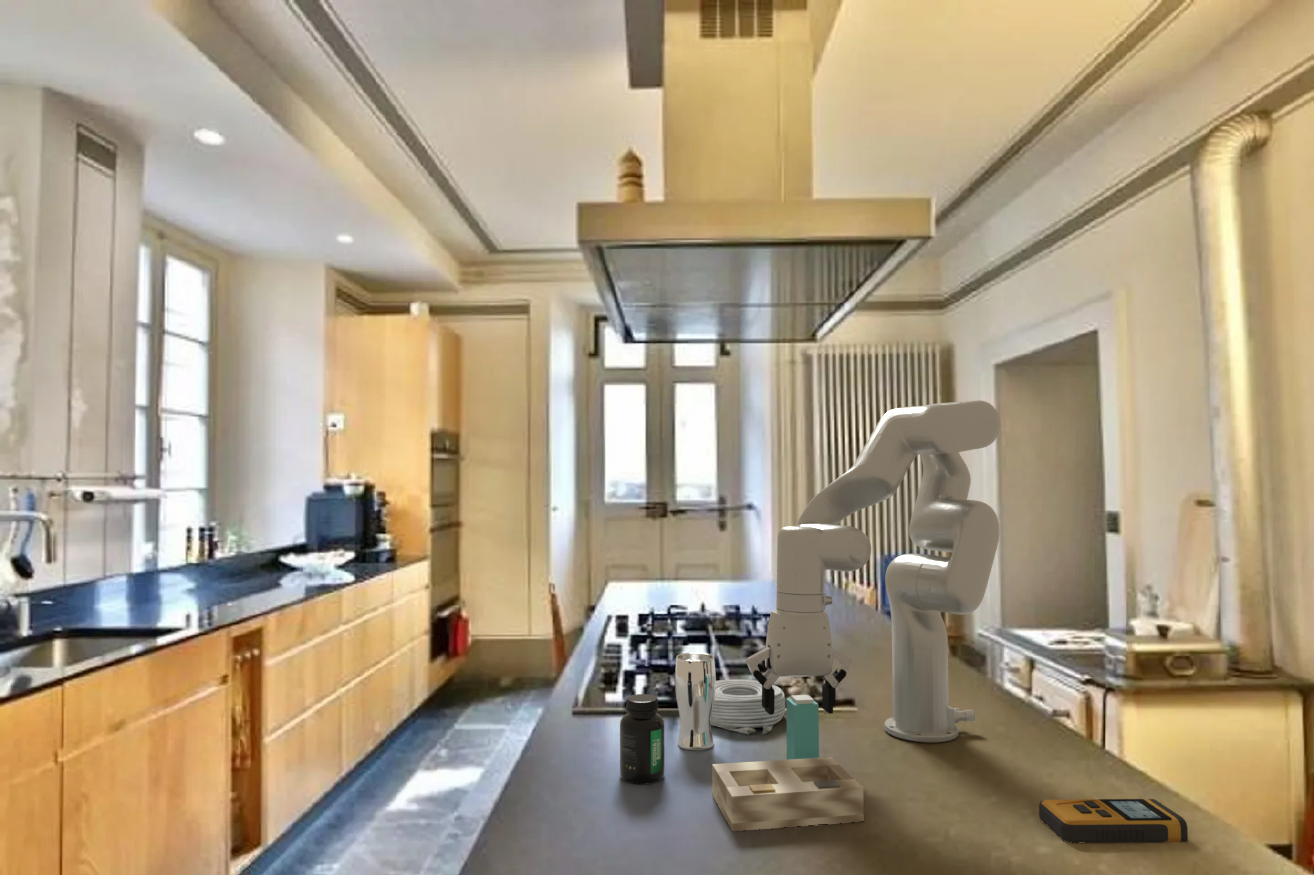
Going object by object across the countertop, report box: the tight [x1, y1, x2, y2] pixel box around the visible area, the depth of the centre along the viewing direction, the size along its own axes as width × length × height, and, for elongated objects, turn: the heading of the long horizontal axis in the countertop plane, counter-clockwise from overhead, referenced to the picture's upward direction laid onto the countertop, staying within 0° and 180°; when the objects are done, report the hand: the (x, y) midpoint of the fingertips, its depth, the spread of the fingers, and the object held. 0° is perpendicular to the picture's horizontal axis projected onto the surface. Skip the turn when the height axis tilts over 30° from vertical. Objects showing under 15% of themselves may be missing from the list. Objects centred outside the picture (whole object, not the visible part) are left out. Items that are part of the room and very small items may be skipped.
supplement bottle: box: [619, 693, 666, 785], centre depth 128 cm, size 7×7×12 cm
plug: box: [785, 694, 820, 760], centre depth 133 cm, size 4×4×11 cm
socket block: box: [711, 756, 865, 832], centre depth 116 cm, size 18×12×5 cm, turn 99°
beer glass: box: [674, 652, 717, 752], centre depth 143 cm, size 7×7×15 cm
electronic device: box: [1038, 798, 1189, 844], centre depth 109 cm, size 8×16×3 cm, turn 90°
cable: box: [711, 678, 786, 735], centre depth 158 cm, size 18×18×6 cm
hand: (798, 711), depth 133 cm, fingers open, 9 cm apart
